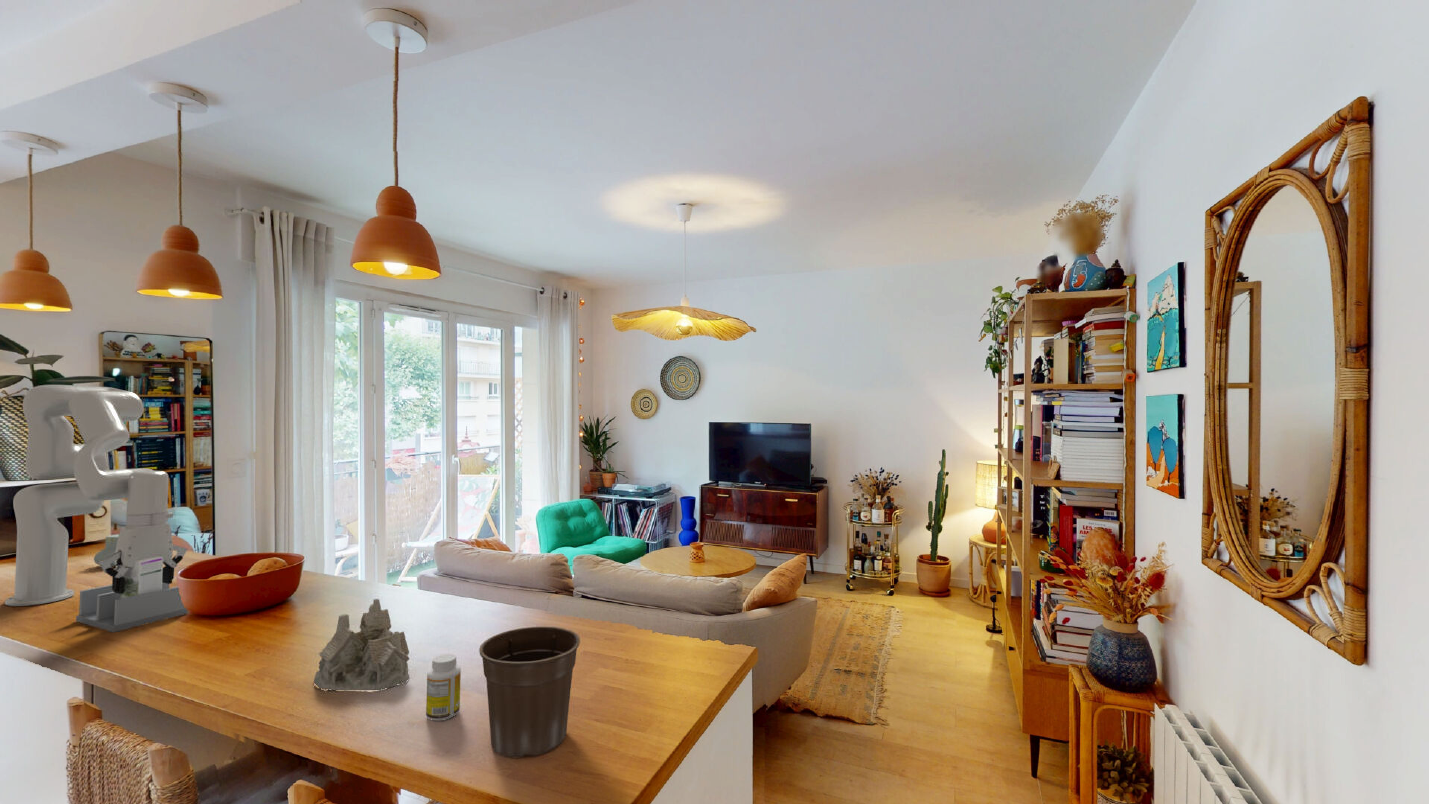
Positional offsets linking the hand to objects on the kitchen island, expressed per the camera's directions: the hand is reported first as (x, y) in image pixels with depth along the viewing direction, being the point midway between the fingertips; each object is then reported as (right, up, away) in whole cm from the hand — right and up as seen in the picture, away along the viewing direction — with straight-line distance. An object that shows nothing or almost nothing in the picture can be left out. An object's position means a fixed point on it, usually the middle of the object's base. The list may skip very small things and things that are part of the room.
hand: (143, 587), depth 152 cm
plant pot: (+113, -10, -51) cm, 124 cm away
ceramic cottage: (+73, -10, -30) cm, 80 cm away
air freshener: (-56, -8, +50) cm, 76 cm away
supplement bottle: (+95, -10, -44) cm, 105 cm away
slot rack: (-4, -8, +1) cm, 9 cm away
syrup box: (0, -7, 0) cm, 7 cm away
